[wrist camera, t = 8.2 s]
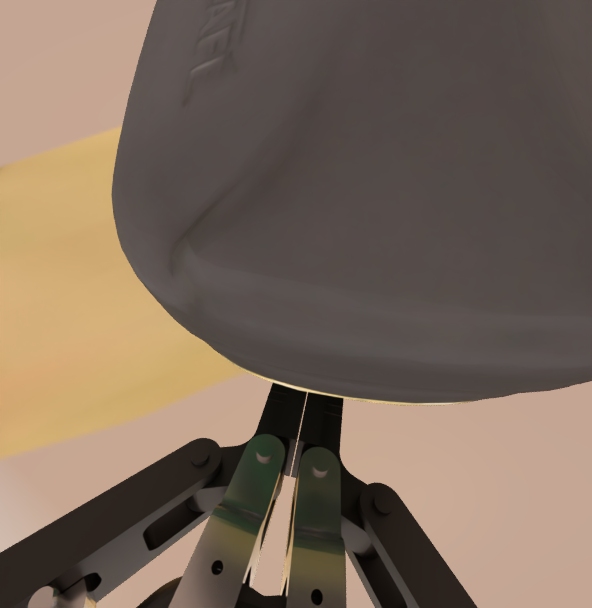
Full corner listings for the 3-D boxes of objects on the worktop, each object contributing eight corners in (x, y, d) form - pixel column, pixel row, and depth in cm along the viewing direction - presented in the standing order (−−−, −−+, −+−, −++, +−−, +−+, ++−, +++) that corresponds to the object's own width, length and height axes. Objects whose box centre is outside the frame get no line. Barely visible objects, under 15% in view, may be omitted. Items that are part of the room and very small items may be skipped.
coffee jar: (385, 392, 19) (1378, 615, 1) (262, 377, 20) (-194, 395, 2) (391, 251, 22) (806, -393, 4) (281, 241, 22) (147, -352, 4)
